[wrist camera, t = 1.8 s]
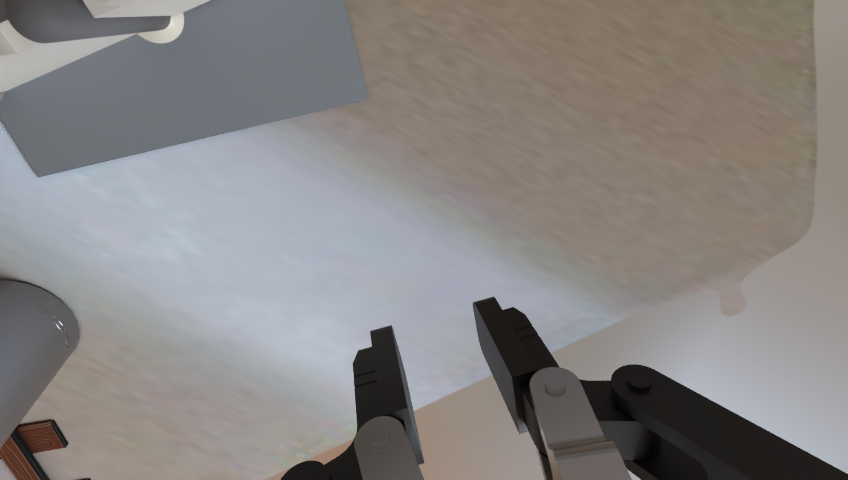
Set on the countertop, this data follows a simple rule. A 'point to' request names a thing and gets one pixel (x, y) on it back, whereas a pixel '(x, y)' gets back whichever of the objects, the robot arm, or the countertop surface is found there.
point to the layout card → (187, 82)
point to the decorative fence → (31, 448)
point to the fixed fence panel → (58, 36)
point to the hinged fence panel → (140, 7)
